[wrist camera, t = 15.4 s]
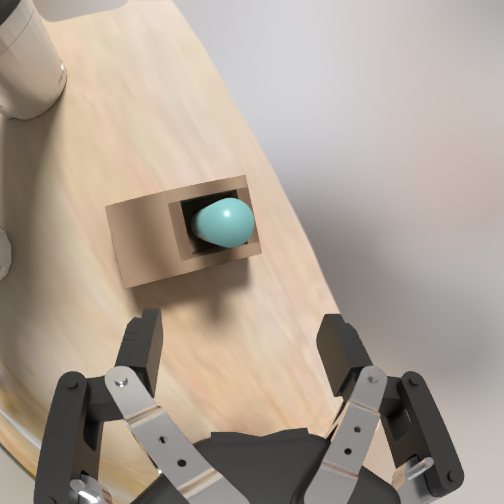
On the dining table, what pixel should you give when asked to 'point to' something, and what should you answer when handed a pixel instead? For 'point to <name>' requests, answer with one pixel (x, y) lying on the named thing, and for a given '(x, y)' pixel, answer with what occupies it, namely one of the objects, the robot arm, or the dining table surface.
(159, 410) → the robot arm
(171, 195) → the socket
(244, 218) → the peg
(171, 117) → the dining table surface
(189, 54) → the dining table surface
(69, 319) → the dining table surface
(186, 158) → the dining table surface
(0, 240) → the water bottle
